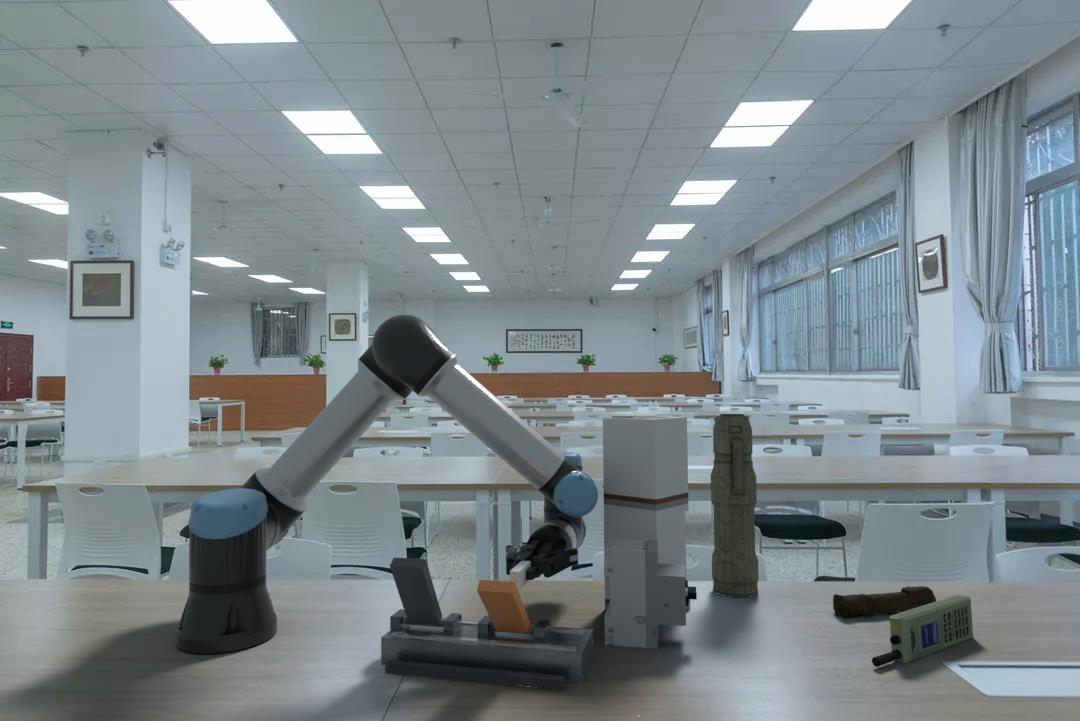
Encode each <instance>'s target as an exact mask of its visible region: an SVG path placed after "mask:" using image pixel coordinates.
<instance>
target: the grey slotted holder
mask: <svg viewBox="0 0 1080 721" xmlns="http://www.w3.org/2000/svg"><path fill="white" fill-rule="evenodd" d="M462 614H463V613H458V612H457V613H456V612H455V613H454V612H451V613H450V614H449V615H447V617H445V618H444V617H442V619H444V620H443V627H432V626H420V625H407V624H405V619H406V614H405V611H404V608H403V609H402V608H400V609H399V610H397V611H396V612H395V613H393V614H392V615H391V616H390V617H389V623H390V624H389V625H390V626H389V631H387V632H386V633H385V634H384V635H382V636H381V637H380V642H381V643H380V658H381V659H380V662H381V663H380V665H382V666H385V663H386V662H388V661H389V660H398V661H409V662H420V663H431V664H442V665H453V666H463V667H474V668H485V669H496V670H507V671H518V672H529V673H539V674H550V675H561V676H565V683H569V682H572V683H571V684H579V683H582V684H583V682H582V681H584V679H585V677H586V675H587V672H588V670H589V668H590V665H591V662H592V661H593V658H594V629H593V628H592V629H590V628H580V627H579V628H578V627H577V628H576V627H566V626H564V627H563V626H553V625H551V619H539V620H538V622H537V623H536V624H531V626H535V627H534V634H522V633H509V632H496V631H493V630H492V626H493V623H492V621H491V619H490V617H489V615H484V616H483V617H482V618H481V619H480V620H475V619H474V620H473V619H462V617H463V616H462ZM588 667H589V668H588ZM585 674H586V675H585ZM584 676H585V677H584Z"/></svg>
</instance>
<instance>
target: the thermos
mask: <svg viewBox="0 0 1080 721" xmlns="http://www.w3.org/2000/svg"><path fill="white" fill-rule="evenodd" d="M712 446H713V447H712V448H713V449H712V450H713V455H714V459H713V467H712V470H711V473H710V502H711V504H712V506H713V536H714V537H713V540H714V541H713V545H714V548H713V549H714V550H713V551H712V555H711V578H712V581H713V582H712V591H713V590H714V591H715V592H716V593H715V592H714V591H713V592H714V593H715V594H717V593H719V594H722V595H725V596H724V597H727V596H731V597H730V598H734V597H739V598H738V599H741V598H740V597H747V598H751V597H750V596H753V597H755V596H754V595H756V596H757V595H758V594H759V588H758V583H759V580H760V577H759V576H760V575H759V573H760V572H759V559H758V558H759V557H758V556H757V554H756V529H755V528H756V527H755V525H756V523H755V520H756V519H755V517H756V516H755V507H756V505H757V502H758V500H757V499H758V498H757V497H758V496H757V495H758V494H757V476H756V475H757V474H756V471H755V469H754V462H753V457H752V454H753V452H754V451H753V429H752V425H751V422H750V419H749V416H747V415H745V414H744V413H720V415H718V416H716V418H715V421H714V424H713V427H712ZM757 593H758V594H757ZM719 594H718V595H719ZM722 595H721V596H722Z"/></svg>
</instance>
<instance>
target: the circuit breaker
mask: <svg viewBox="0 0 1080 721" xmlns="http://www.w3.org/2000/svg"><path fill="white" fill-rule="evenodd" d="M603 560H604V561H603V576H604V577H605V576H606V577H610V601H609V604H608V607H607V610H606V611H605V614H604V645H605V646H609V644H611V645H613V646H614V647H627V648H628V647H629V648H640V647H641V648H642V649H658V646H659V636H660V635H659V633H660V625H664V626H681V627H683V626H684V627H686V626H687V610H686V606H688V599H690V600H697V598H698V597H697V596H698V595H697V587H696V586H689V582H688V580H687V579H686V580H685V565H681V564H660V563H658V541H649V540H621V539H617V540H612V539H610V541H609V543H608V545H607V547H606V550H605V559H603ZM611 645H610V646H611Z"/></svg>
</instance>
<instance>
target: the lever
mask: <svg viewBox="0 0 1080 721" xmlns="http://www.w3.org/2000/svg"><path fill="white" fill-rule="evenodd" d="M476 592H477V594H478V595H479V599H480V600H481V602H482V604H483V607H484V609H485V611H486V612H487V613H486V614H487V616H489V617H490V619H491V621H492V623H493V626H492V630H493V631H496V632H509V633H522V634H534V627H535V626H531V625H532V623H531V621H530V618H529V615H528V613H527V610H526V608H525V605H524V602H523V600H522V597H521V595H520V593H519V590H517V587H516V585H515V582H510V581H508V580H507V581H505V580H504V581H503V580H490V579H488V580H486V579H485V580H484V579H479V581H478V584H477V588H476Z"/></svg>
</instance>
